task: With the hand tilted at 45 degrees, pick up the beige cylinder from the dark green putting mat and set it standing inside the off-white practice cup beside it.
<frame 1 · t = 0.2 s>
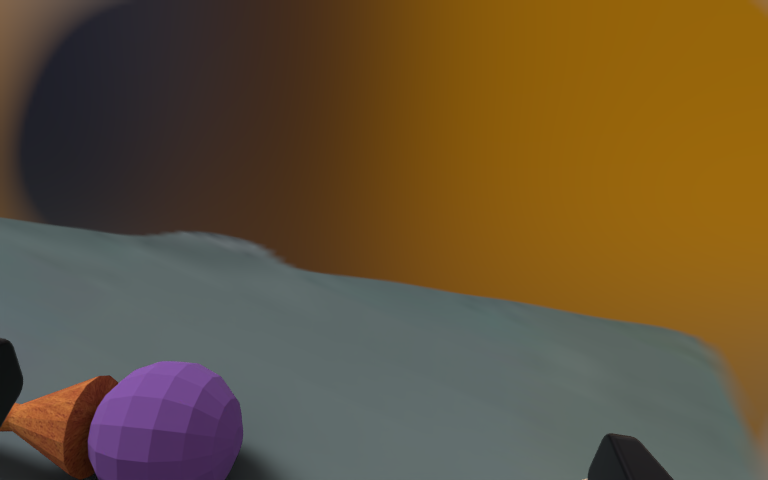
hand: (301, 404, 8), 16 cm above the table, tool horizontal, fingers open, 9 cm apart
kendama: (26, 454, 25), on the table
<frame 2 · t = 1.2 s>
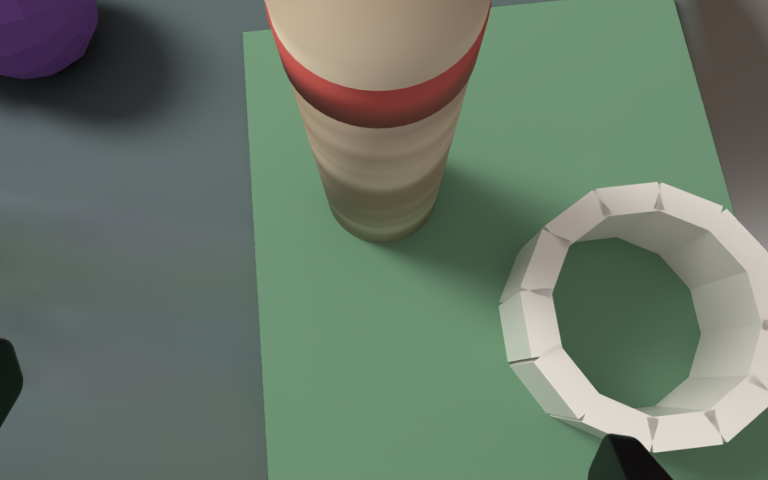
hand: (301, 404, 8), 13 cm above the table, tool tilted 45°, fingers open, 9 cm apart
practice cup: (612, 321, 21), resting on putting mat
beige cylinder: (381, 190, 22), resting on putting mat
putting mat: (497, 255, 22), on the table
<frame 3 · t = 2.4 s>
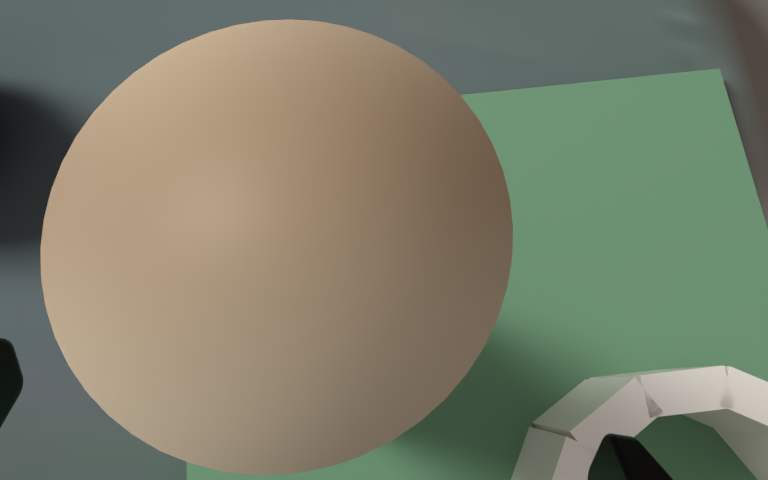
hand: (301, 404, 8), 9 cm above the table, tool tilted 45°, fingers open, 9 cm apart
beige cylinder: (352, 337, 17), resting on putting mat
putting mat: (502, 424, 17), on the table
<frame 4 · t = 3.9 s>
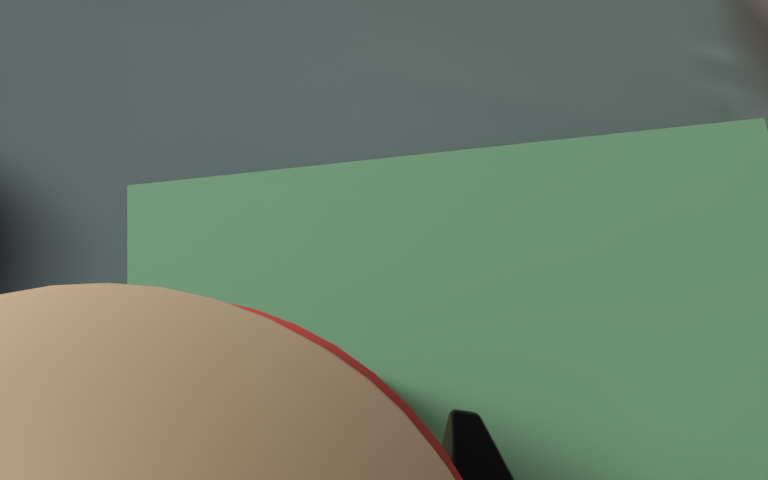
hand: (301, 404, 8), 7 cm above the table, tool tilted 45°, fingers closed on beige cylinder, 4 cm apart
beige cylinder: (328, 450, 14), point 1 cm above the table, touching gripper, putting mat
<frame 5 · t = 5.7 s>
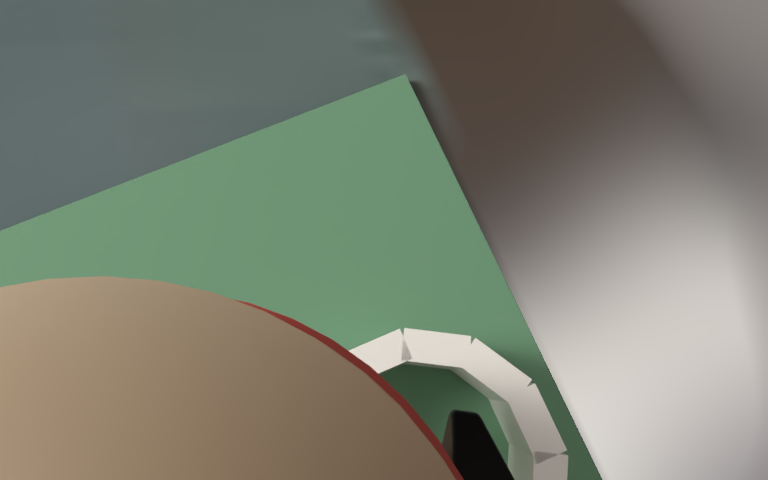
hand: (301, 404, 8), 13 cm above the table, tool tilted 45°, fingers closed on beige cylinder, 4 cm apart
practice cup: (417, 458, 20), resting on putting mat
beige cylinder: (328, 448, 14), point 6 cm above the table, touching gripper
putting mat: (289, 417, 21), on the table
when the fingers open (8 cm above the table, at t = 7.4 s): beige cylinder drops 1 cm, resting on putting mat.
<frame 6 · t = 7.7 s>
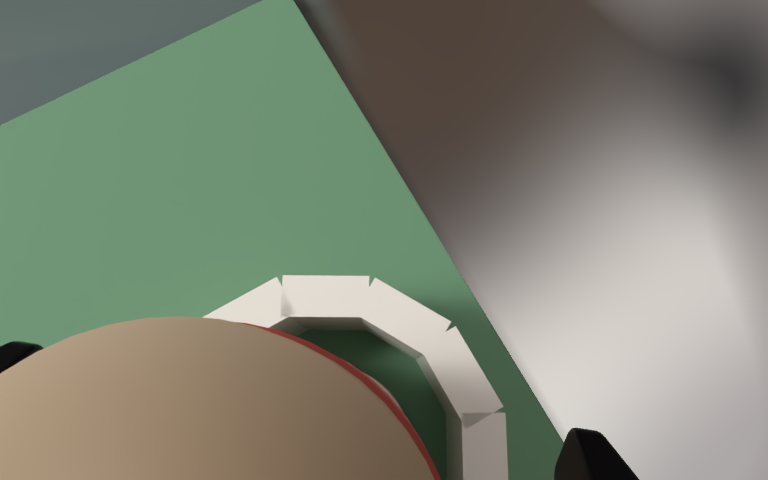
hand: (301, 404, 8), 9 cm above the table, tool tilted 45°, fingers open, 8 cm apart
practice cup: (333, 443, 16), resting on putting mat
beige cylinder: (333, 446, 16), point 1 cm above the table, touching putting mat
putting mat: (173, 412, 17), on the table
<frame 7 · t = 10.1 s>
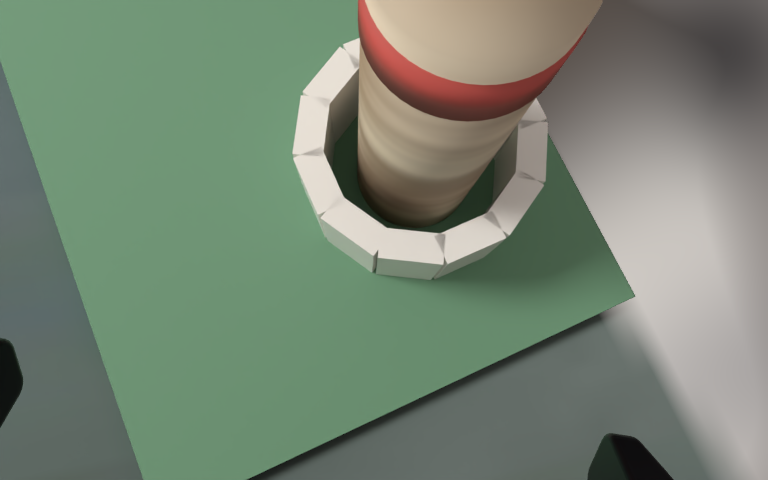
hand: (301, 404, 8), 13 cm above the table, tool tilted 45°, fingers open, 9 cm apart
practice cup: (413, 172, 22), resting on putting mat
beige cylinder: (413, 173, 22), point 1 cm above the table, touching putting mat
putting mat: (295, 145, 23), on the table
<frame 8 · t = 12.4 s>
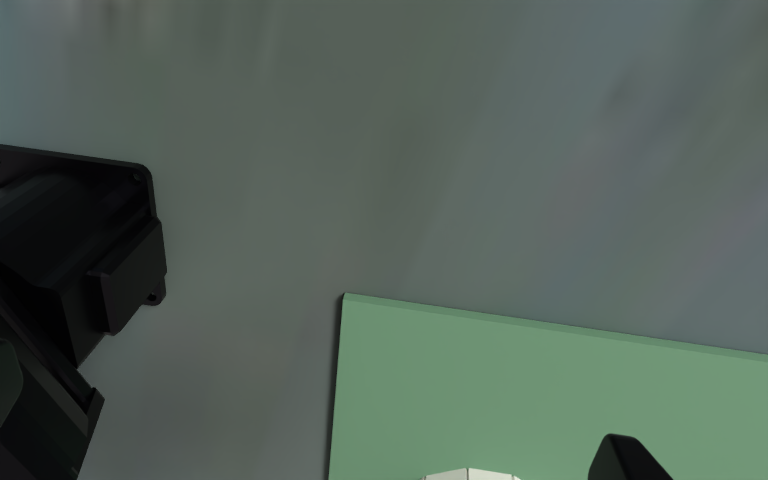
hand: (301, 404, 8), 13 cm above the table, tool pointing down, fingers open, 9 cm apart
putting mat: (549, 477, 28), on the table
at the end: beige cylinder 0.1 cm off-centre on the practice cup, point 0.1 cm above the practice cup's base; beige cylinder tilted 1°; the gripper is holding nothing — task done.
